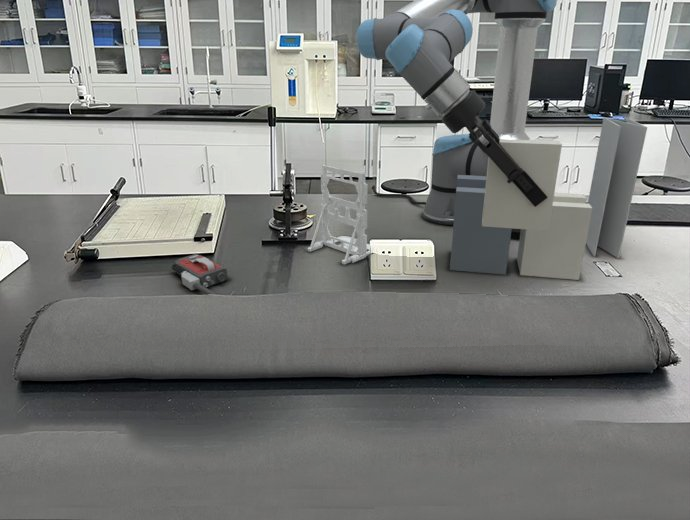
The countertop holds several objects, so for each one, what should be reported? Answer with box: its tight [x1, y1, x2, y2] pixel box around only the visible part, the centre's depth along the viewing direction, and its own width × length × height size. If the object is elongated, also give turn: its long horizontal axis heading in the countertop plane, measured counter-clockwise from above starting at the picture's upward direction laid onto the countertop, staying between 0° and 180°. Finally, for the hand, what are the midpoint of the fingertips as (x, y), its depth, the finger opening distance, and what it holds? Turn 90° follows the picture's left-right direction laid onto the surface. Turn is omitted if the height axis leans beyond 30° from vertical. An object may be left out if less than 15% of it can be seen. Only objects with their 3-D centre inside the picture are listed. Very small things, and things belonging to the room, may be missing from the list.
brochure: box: [586, 117, 648, 259], centre depth 125 cm, size 14×6×30 cm, turn 168°
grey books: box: [449, 175, 512, 276], centre depth 118 cm, size 10×12×19 cm
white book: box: [482, 139, 563, 231], centre depth 98 cm, size 3×12×16 cm, turn 77°
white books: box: [516, 192, 592, 281], centre depth 115 cm, size 9×12×16 cm
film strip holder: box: [306, 164, 371, 266], centre depth 125 cm, size 14×14×20 cm
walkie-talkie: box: [170, 253, 228, 295], centre depth 111 cm, size 9×4×20 cm
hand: (539, 198), depth 98 cm, fingers closed on white book, 3 cm apart
